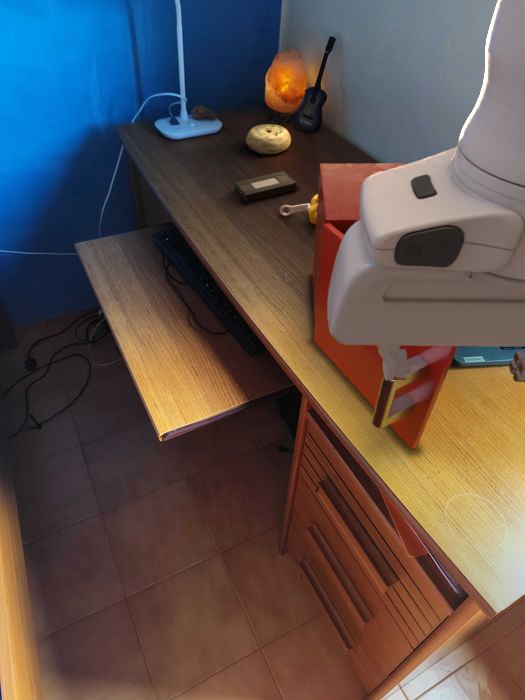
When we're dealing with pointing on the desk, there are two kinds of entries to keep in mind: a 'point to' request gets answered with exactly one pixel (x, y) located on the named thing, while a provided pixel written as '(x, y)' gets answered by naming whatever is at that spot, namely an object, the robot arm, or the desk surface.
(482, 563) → the desk surface
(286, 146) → the bagel
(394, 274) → the robot arm
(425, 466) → the desk surface
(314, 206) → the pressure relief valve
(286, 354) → the desk surface
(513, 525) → the desk surface
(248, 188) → the vhs tape
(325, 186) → the cabinet
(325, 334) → the door
